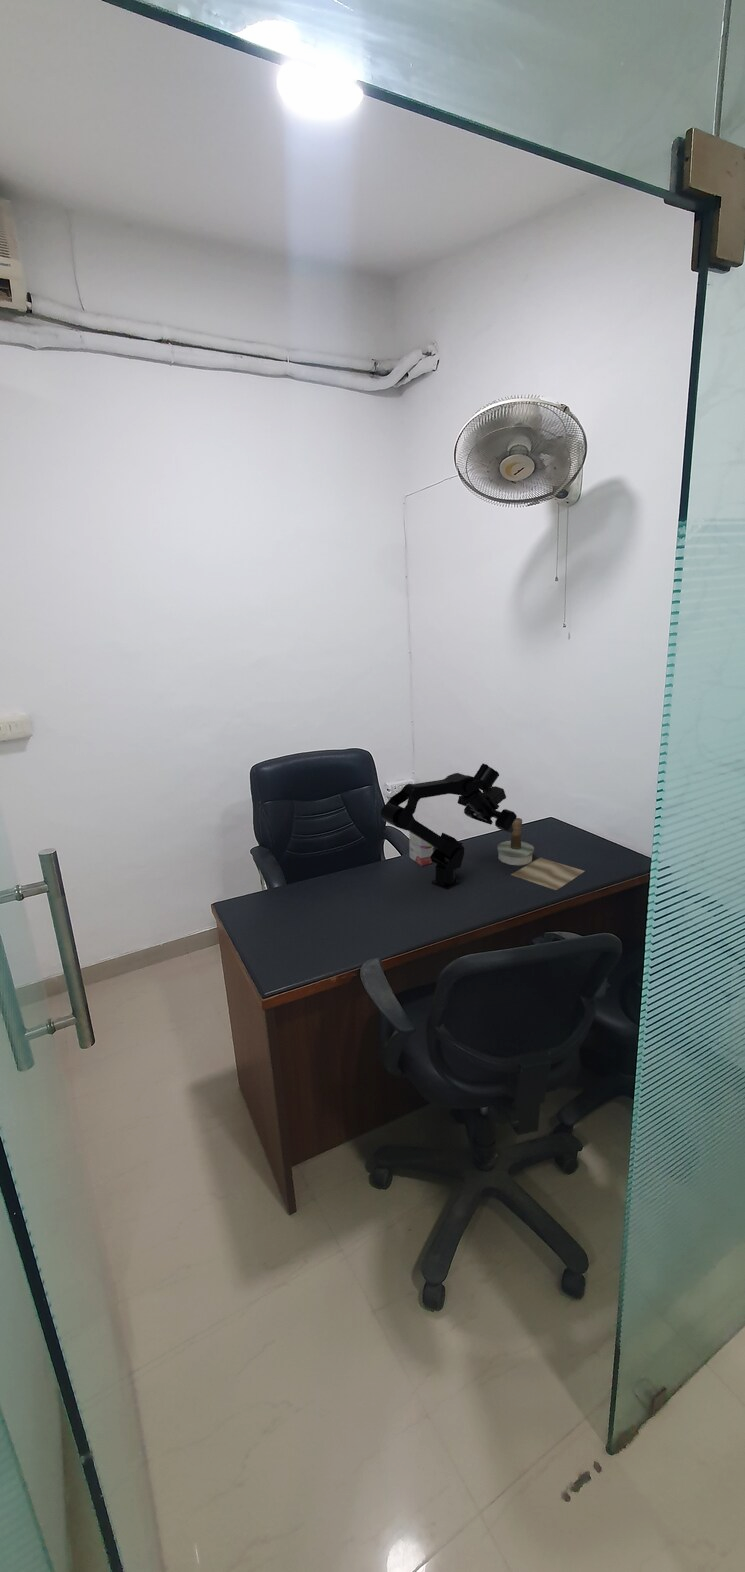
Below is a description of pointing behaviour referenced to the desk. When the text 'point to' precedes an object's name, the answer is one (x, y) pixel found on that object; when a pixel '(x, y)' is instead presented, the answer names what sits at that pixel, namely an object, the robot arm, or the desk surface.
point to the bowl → (515, 859)
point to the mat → (548, 873)
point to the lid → (516, 843)
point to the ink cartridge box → (420, 850)
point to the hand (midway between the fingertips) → (501, 827)
